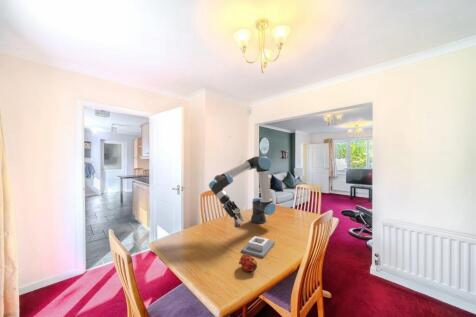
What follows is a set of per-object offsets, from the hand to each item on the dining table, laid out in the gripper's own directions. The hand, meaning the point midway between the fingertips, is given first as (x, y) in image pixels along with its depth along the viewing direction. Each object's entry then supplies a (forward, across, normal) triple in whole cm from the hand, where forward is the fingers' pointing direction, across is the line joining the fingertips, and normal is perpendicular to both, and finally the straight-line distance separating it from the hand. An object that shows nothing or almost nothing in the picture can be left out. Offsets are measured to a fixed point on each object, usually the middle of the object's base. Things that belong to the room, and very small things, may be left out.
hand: (241, 221), depth 136 cm
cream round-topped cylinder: (0, 0, -6) cm, 6 cm away
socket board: (+21, 0, -2) cm, 21 cm away
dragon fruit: (+24, +26, +2) cm, 36 cm away
